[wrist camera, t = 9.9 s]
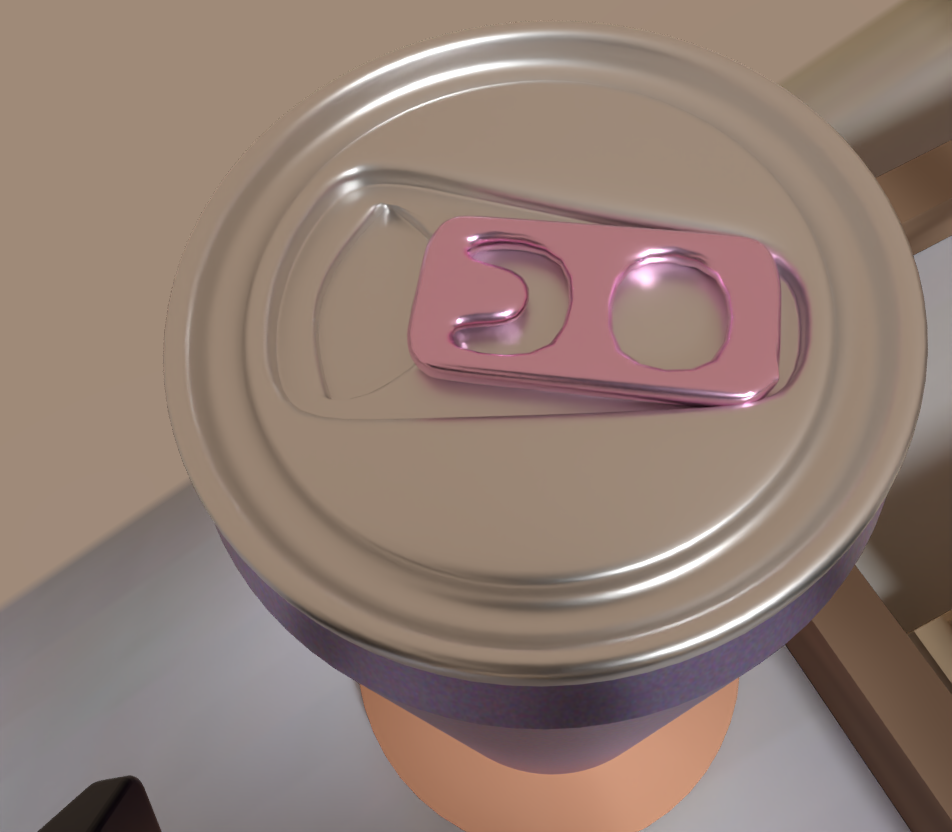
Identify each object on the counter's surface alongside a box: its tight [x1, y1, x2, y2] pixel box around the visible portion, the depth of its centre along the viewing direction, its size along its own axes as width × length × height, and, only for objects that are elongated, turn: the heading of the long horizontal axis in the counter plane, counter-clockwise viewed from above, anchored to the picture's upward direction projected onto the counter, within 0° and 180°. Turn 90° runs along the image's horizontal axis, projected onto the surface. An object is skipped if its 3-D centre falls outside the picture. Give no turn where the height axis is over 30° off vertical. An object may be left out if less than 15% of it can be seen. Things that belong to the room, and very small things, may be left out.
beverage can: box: [163, 21, 928, 775], centre depth 13 cm, size 6×6×15 cm
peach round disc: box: [360, 677, 739, 832], centre depth 20 cm, size 9×9×1 cm
